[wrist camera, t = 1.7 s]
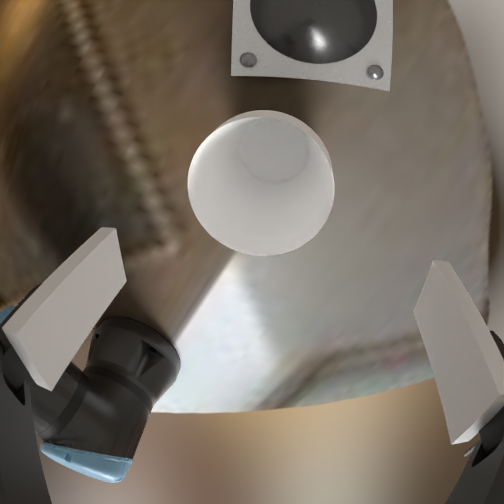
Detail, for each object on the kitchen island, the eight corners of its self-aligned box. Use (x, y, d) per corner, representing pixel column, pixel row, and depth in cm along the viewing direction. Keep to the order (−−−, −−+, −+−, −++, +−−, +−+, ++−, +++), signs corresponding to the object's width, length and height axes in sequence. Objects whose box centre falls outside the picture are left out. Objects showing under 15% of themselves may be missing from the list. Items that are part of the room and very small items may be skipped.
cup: (329, 111, 25) (350, 127, 15) (314, 201, 30) (320, 268, 20) (230, 98, 26) (187, 108, 16) (224, 188, 31) (184, 247, 20)
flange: (233, 76, 25) (229, 75, 24) (237, -51, 18) (234, -56, 16) (386, 91, 23) (391, 91, 22) (388, -37, 16) (392, -42, 15)
